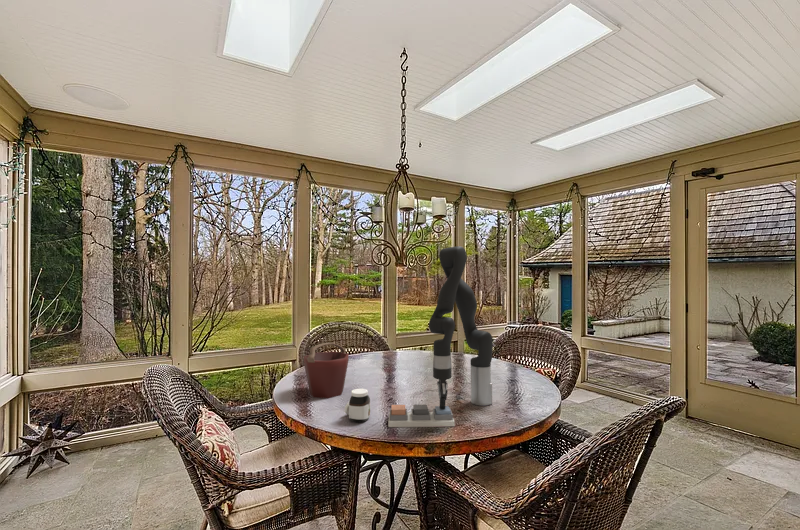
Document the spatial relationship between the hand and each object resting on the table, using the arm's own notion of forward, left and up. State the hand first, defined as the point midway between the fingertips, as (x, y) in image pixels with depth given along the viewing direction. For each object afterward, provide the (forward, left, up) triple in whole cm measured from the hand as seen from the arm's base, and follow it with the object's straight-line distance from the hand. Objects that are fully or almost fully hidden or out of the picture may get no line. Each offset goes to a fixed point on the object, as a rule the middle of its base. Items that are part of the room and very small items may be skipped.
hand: (442, 408), depth 156 cm
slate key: (0, 0, -2) cm, 2 cm away
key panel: (+9, 0, -5) cm, 10 cm away
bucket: (+54, -39, -6) cm, 67 cm away
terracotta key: (+18, 0, -2) cm, 18 cm away
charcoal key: (+9, 0, -2) cm, 9 cm away
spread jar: (+35, -5, -6) cm, 36 cm away
